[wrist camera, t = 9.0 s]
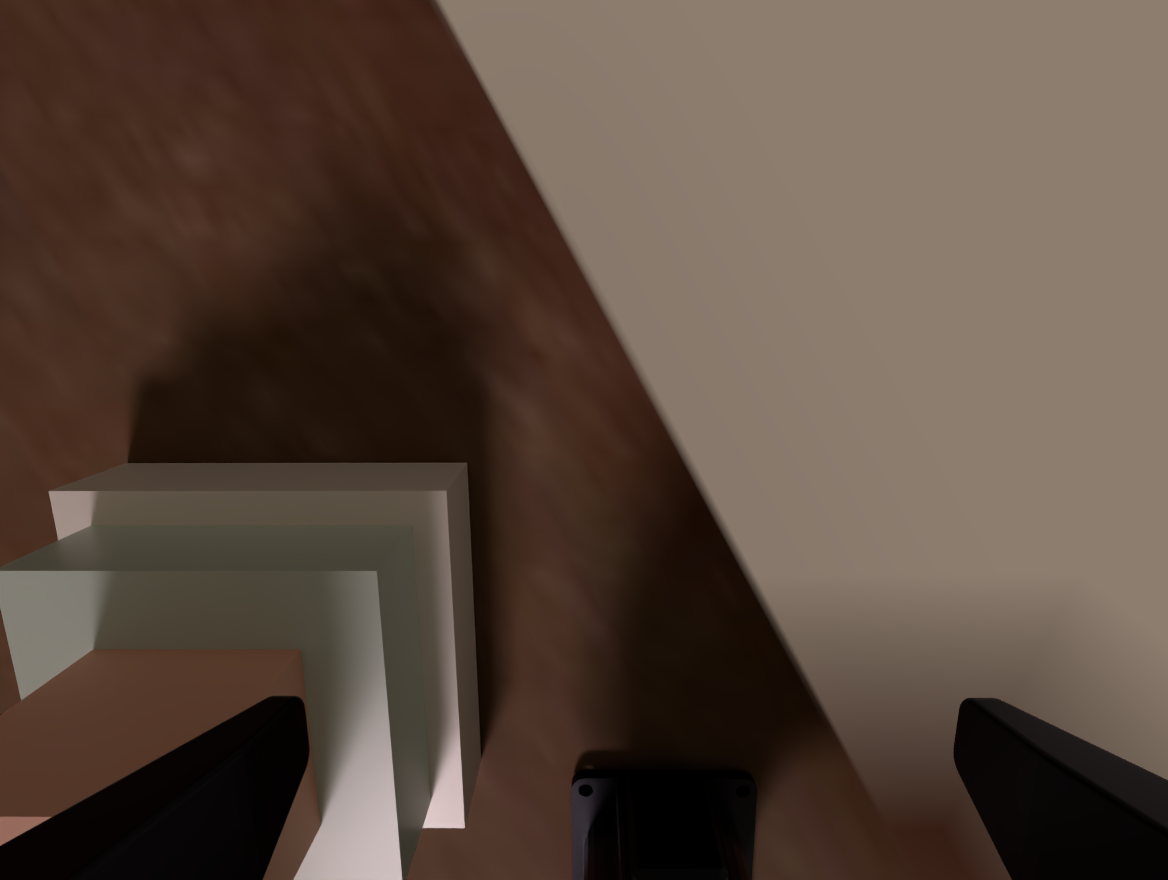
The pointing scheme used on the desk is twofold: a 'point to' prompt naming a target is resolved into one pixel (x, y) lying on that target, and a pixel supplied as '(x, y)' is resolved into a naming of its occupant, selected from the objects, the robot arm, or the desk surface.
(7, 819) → the terracotta block
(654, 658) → the desk surface
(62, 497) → the tower base
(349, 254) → the desk surface
